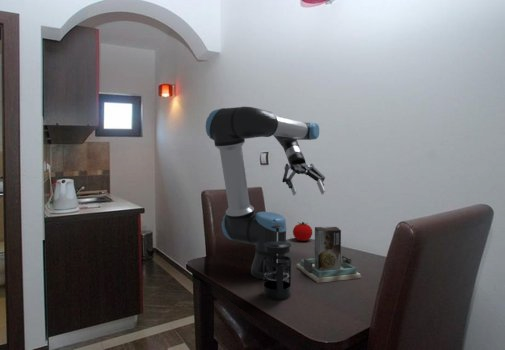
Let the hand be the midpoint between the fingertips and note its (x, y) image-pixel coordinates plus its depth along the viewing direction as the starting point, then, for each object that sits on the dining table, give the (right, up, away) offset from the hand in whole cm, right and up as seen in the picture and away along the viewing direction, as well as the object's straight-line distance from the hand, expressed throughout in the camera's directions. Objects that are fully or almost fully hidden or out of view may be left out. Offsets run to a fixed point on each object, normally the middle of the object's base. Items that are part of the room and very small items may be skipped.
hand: (309, 193), depth 152 cm
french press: (-17, -32, -36) cm, 51 cm away
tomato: (+2, -28, +37) cm, 46 cm away
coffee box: (+5, -29, -14) cm, 33 cm away
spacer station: (+5, -31, -14) cm, 34 cm away
